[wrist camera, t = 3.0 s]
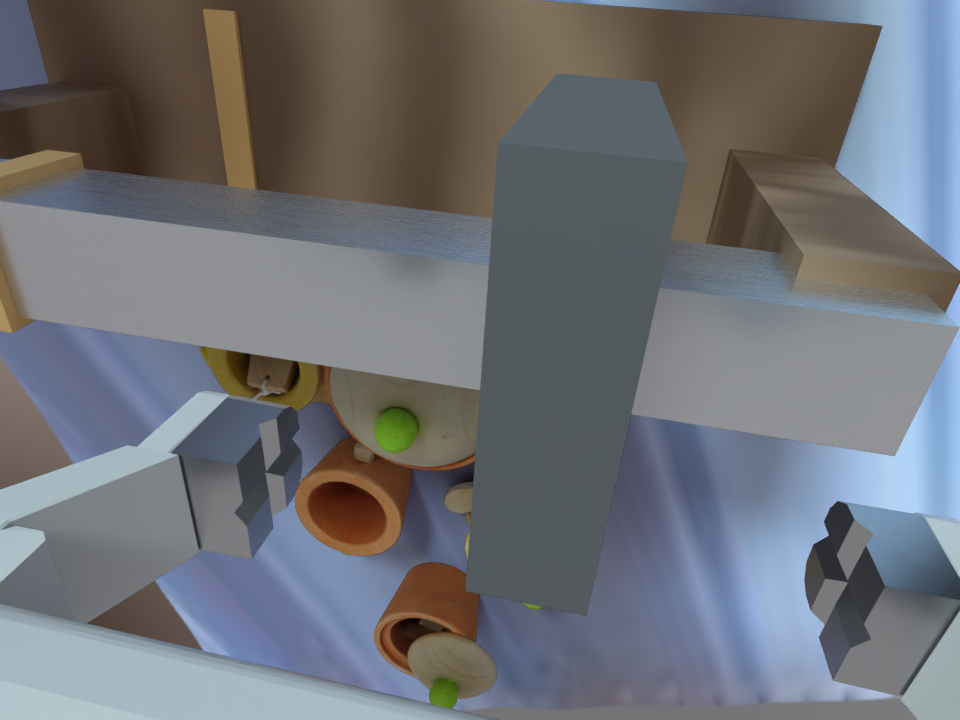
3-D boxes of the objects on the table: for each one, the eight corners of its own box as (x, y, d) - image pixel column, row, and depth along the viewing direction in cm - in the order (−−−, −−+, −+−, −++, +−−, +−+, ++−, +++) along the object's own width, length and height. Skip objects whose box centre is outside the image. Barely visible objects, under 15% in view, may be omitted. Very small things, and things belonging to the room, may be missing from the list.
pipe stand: (119, 255, 31) (-192, 415, 19) (48, -36, 25) (-475, -64, 13) (760, 345, 27) (869, 620, 15) (866, 24, 21) (1190, 60, 9)
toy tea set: (194, 274, 31) (39, 374, 23) (483, 171, 26) (419, 253, 18) (408, 630, 42) (354, 786, 33) (644, 608, 36) (650, 787, 28)
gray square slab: (523, 371, 21) (465, 591, 13) (557, 73, 16) (497, 142, 9) (600, 383, 20) (586, 616, 13) (656, 82, 16) (687, 161, 8)
